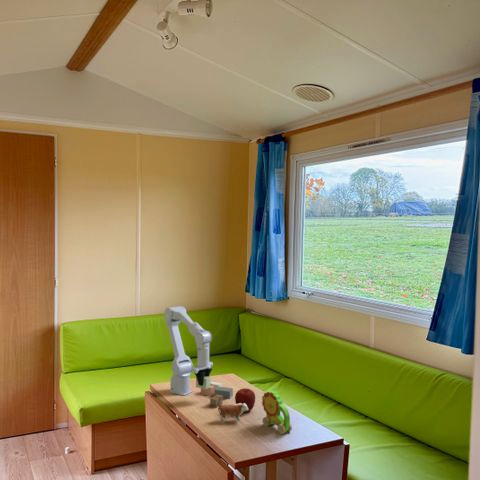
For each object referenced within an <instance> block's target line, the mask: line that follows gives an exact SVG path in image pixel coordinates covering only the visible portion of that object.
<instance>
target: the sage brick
mask: <svg viewBox="0 0 480 480" xmlns="http://www.w3.org/2000/svg"><path fill="white" fill-rule="evenodd" d="M210 382H211V377H210V376H209V377H207V376H204V382H203V386H201V385H199V384H198V380H197V377H196V376H195V388H199V389H201V388H203V389H208V388H209V387H210Z"/></svg>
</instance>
